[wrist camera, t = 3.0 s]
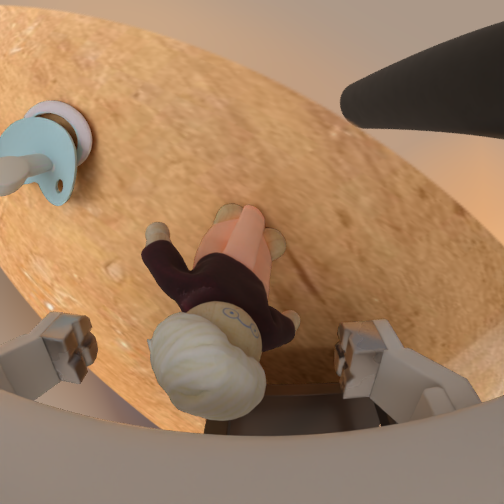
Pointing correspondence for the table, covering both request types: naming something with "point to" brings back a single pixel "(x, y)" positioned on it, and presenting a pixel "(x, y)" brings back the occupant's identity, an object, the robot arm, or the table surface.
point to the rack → (303, 413)
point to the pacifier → (44, 151)
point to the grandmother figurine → (218, 314)
